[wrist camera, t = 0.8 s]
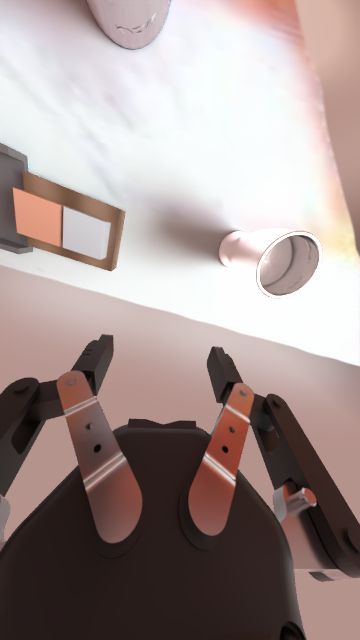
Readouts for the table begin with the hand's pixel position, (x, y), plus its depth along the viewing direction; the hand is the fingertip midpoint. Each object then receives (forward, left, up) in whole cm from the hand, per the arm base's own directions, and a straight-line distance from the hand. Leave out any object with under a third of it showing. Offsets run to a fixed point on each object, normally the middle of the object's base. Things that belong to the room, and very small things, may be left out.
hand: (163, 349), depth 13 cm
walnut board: (-11, -11, -21) cm, 26 cm away
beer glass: (-3, +13, -21) cm, 25 cm away
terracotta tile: (-13, -14, -18) cm, 26 cm away
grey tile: (-10, -9, -18) cm, 22 cm away
